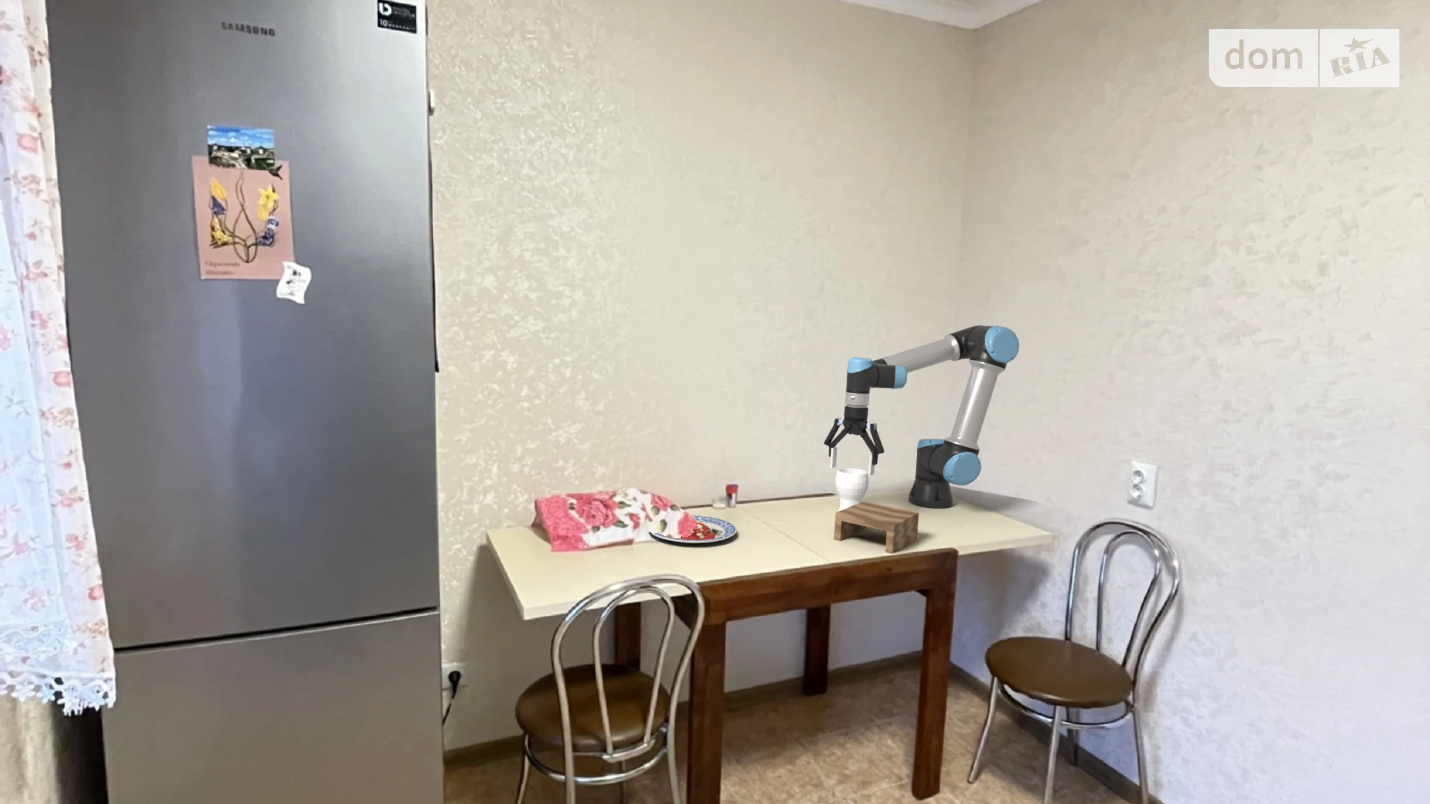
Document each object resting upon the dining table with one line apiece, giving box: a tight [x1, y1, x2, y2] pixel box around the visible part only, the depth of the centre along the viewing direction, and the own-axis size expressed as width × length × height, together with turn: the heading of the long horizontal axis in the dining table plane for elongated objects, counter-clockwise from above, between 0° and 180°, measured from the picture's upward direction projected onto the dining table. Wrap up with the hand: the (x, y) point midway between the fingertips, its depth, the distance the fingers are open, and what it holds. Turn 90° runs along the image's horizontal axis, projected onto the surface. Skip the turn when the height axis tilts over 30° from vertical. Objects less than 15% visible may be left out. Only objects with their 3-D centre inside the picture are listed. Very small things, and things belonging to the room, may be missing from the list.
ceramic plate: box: [651, 514, 737, 544], centre depth 211 cm, size 26×26×3 cm
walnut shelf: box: [833, 501, 920, 554], centre depth 213 cm, size 18×18×8 cm
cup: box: [835, 467, 870, 512], centre depth 236 cm, size 11×11×15 cm
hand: (851, 471), depth 235 cm, fingers open, 13 cm apart
